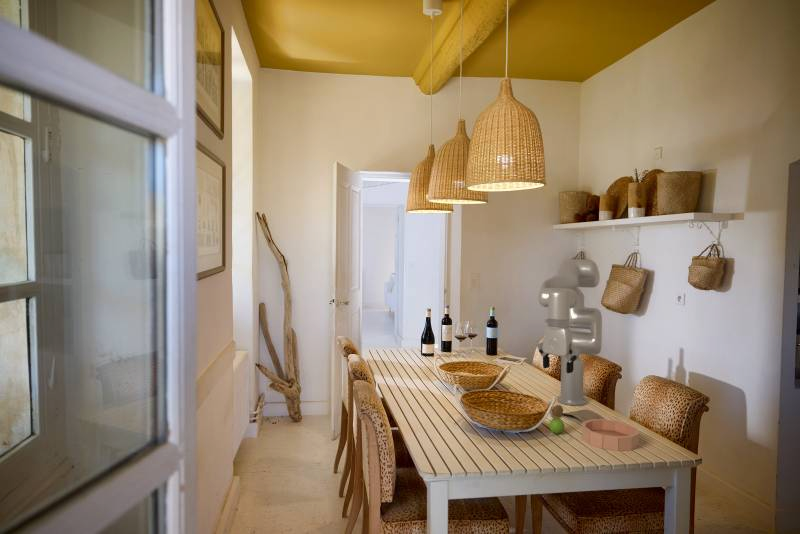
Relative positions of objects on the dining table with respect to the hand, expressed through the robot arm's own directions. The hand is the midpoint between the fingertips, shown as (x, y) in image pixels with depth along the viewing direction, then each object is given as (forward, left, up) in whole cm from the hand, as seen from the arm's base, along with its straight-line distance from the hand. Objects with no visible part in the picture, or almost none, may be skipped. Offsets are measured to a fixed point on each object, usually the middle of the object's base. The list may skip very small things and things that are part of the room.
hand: (557, 370), depth 183 cm
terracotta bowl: (-9, +16, -23) cm, 29 cm away
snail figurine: (0, 0, -24) cm, 24 cm away
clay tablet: (-23, -3, -24) cm, 34 cm away
